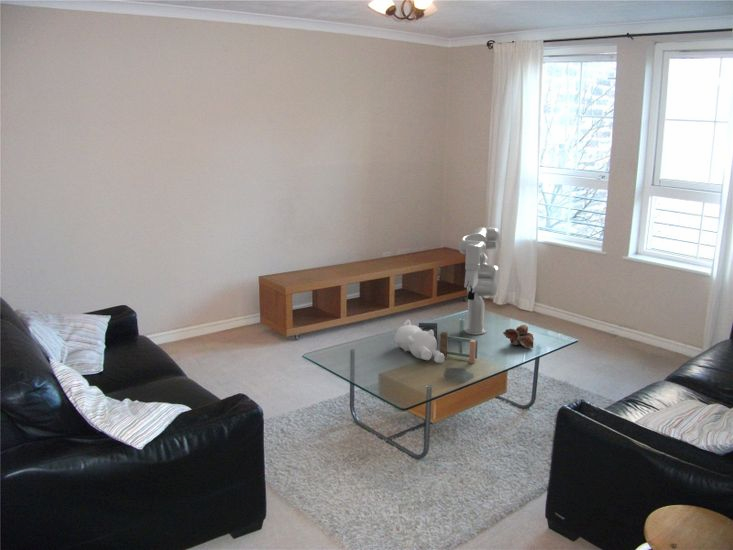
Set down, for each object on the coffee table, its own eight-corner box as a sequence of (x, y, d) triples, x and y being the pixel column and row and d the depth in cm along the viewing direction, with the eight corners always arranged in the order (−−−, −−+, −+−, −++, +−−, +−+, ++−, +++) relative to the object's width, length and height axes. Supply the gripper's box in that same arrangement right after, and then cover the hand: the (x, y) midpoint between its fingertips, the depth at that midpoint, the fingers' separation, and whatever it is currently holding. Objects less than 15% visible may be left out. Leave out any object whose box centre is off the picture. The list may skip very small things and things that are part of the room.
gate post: (441, 356, 353) (442, 331, 349) (446, 357, 352) (447, 332, 348) (439, 358, 350) (440, 333, 347) (445, 359, 349) (445, 334, 345)
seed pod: (495, 330, 370) (514, 330, 356) (517, 318, 378) (537, 317, 364) (503, 354, 372) (523, 355, 357) (526, 341, 380) (546, 342, 365)
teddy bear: (414, 367, 336) (382, 339, 365) (441, 374, 345) (407, 346, 374) (430, 334, 333) (396, 309, 362) (456, 342, 342) (421, 316, 372)
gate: (442, 354, 353) (443, 335, 350) (444, 353, 355) (444, 334, 352) (476, 359, 346) (477, 339, 343) (477, 358, 348) (478, 338, 345)
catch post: (470, 361, 346) (471, 339, 343) (474, 362, 345) (475, 340, 342) (469, 363, 344) (469, 341, 341) (473, 363, 343) (474, 342, 340)
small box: (437, 340, 377) (437, 322, 374) (437, 344, 371) (437, 326, 368) (418, 339, 378) (418, 322, 375) (418, 343, 372) (418, 326, 369)
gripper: (469, 262, 364) (468, 294, 369) (461, 269, 351) (460, 302, 356) (483, 264, 361) (481, 296, 366) (475, 270, 348) (473, 303, 353)
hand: (471, 299), depth 361 cm, fingers closed
